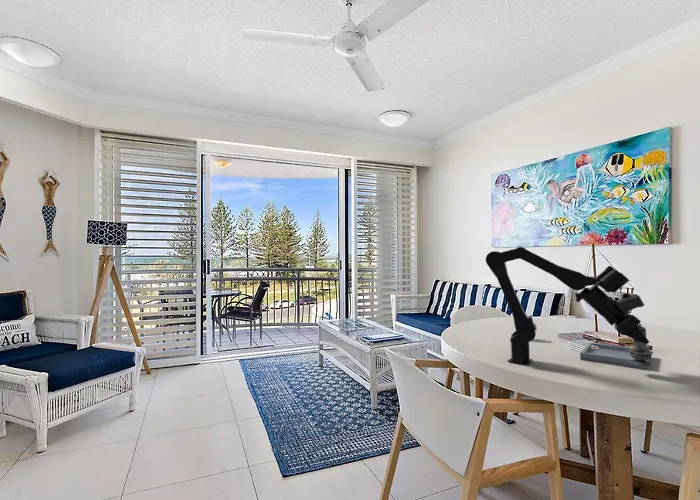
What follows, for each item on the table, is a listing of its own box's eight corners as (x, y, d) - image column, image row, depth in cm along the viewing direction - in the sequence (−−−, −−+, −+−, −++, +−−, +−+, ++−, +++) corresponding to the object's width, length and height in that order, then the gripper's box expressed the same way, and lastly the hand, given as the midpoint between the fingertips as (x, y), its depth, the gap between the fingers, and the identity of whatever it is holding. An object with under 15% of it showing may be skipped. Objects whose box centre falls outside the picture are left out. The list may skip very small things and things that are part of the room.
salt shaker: (644, 360, 114) (643, 321, 114) (658, 366, 108) (657, 325, 108) (623, 360, 114) (623, 321, 114) (636, 365, 108) (636, 325, 108)
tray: (647, 370, 115) (646, 362, 115) (580, 359, 127) (580, 352, 127) (650, 357, 128) (650, 350, 128) (590, 349, 140) (589, 342, 140)
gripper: (631, 288, 105) (681, 330, 100) (617, 283, 121) (659, 318, 116) (598, 314, 108) (645, 356, 103) (589, 305, 125) (629, 341, 120)
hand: (645, 341), depth 110 cm, fingers closed on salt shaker, 4 cm apart
